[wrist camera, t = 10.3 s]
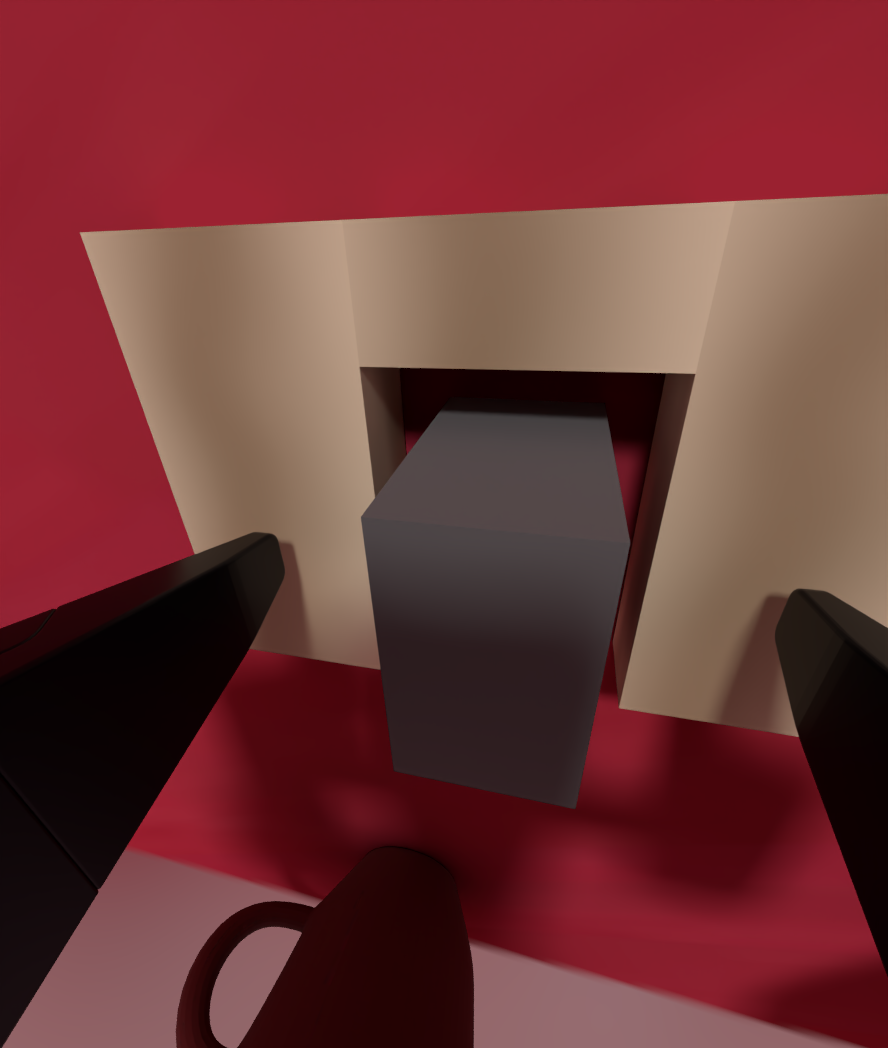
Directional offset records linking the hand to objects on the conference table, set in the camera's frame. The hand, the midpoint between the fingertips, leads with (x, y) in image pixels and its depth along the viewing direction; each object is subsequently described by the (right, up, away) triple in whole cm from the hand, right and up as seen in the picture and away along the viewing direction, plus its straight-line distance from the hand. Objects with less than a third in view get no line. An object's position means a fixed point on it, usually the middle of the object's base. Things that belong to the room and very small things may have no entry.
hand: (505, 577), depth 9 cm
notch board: (+1, +2, +2) cm, 3 cm away
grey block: (+1, +1, +2) cm, 3 cm away
